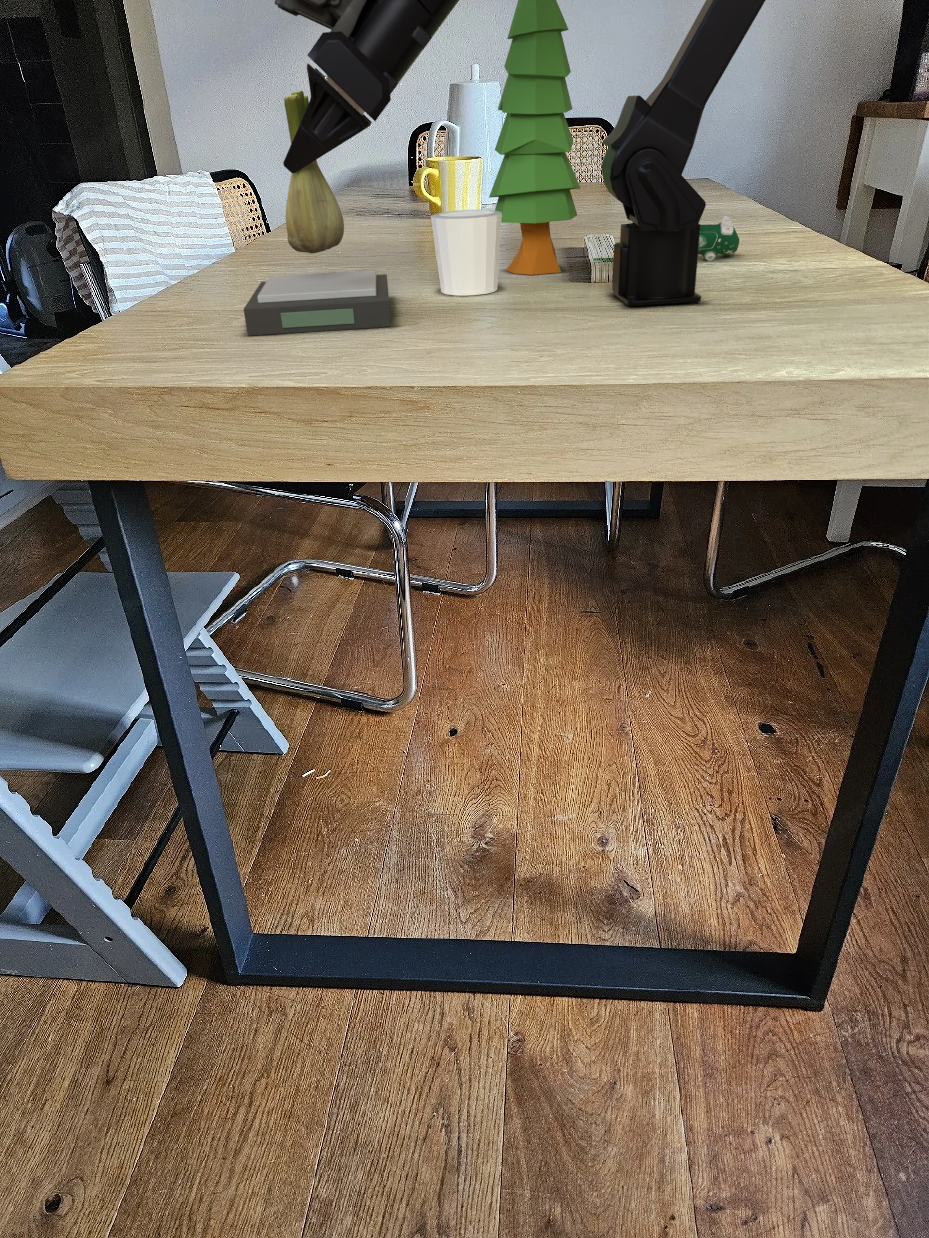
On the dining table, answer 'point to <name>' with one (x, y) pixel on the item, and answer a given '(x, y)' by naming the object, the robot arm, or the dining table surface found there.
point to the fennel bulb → (310, 196)
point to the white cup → (467, 250)
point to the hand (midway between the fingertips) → (291, 167)
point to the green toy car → (718, 239)
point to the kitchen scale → (319, 303)
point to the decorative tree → (535, 135)
